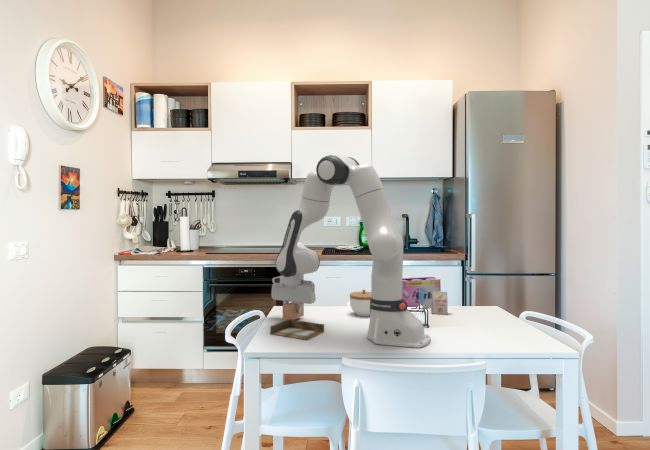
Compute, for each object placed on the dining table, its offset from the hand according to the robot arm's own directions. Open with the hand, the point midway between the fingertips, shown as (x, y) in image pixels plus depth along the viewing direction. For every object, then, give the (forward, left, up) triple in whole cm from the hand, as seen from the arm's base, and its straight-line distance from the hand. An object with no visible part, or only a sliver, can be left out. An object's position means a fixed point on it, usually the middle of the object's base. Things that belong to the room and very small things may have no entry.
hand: (293, 312), depth 172 cm
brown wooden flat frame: (-12, +15, -3) cm, 20 cm away
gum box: (-38, -51, -4) cm, 63 cm away
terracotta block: (0, 0, -2) cm, 2 cm away
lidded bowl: (-22, -24, -4) cm, 33 cm away
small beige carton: (-51, -42, -4) cm, 66 cm away
